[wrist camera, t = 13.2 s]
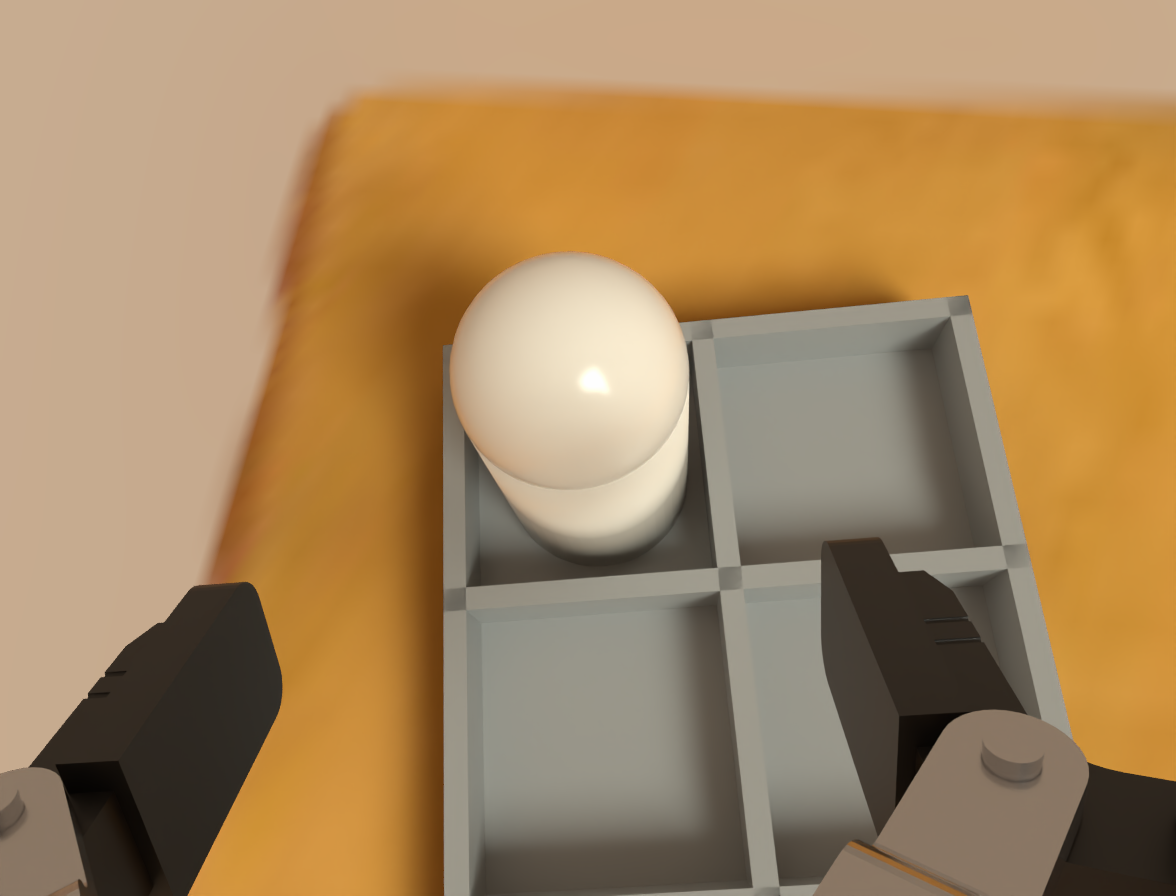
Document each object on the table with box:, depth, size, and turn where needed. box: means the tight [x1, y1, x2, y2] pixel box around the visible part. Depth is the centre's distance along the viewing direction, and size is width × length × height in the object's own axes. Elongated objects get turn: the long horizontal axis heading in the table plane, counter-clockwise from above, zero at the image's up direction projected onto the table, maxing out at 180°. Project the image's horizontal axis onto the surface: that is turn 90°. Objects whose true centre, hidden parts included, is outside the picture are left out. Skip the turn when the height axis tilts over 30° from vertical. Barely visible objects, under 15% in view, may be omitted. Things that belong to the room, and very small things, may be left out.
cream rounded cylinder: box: [449, 251, 689, 566], centre depth 22 cm, size 5×5×10 cm
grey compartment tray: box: [443, 295, 1073, 896], centre depth 23 cm, size 15×22×3 cm, turn 3°
